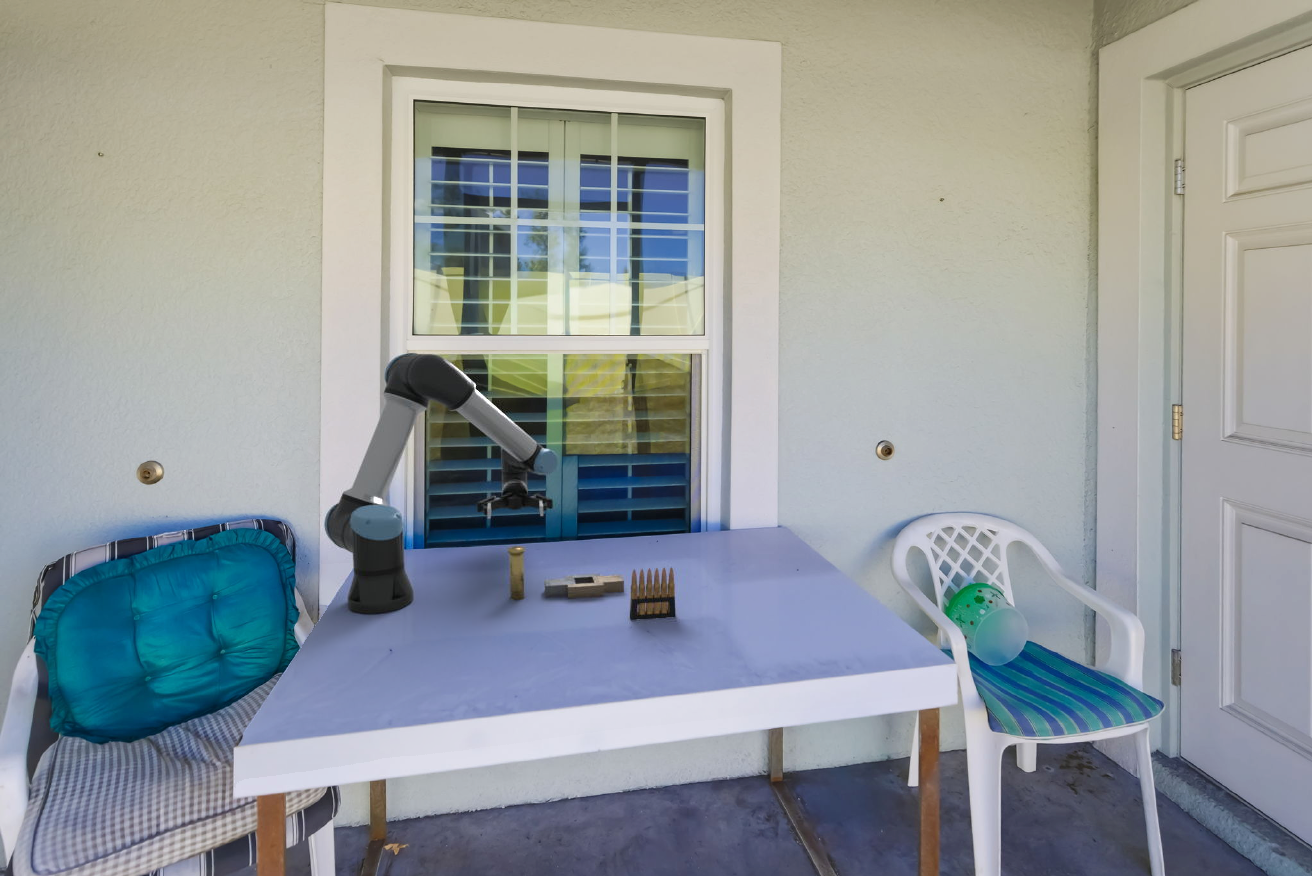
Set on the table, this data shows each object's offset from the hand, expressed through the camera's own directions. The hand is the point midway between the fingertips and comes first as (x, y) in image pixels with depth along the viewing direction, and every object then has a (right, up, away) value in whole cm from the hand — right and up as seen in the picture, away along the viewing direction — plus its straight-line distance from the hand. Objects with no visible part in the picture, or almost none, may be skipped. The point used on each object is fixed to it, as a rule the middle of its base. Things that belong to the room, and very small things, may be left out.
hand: (515, 512), depth 183 cm
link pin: (+2, -21, -7) cm, 22 cm away
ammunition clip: (+36, -23, -19) cm, 47 cm away
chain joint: (+18, -20, -2) cm, 27 cm away
